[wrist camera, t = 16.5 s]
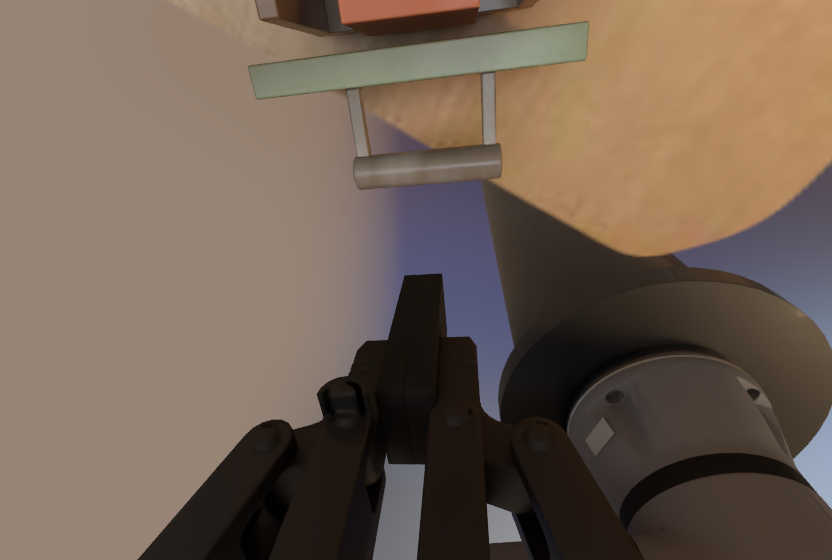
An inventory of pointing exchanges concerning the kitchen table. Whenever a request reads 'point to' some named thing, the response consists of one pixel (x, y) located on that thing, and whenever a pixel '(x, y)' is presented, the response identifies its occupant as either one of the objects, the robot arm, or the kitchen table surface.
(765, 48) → the kitchen table surface
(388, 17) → the block
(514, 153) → the kitchen table surface
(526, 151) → the kitchen table surface
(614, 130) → the kitchen table surface
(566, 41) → the drawer
